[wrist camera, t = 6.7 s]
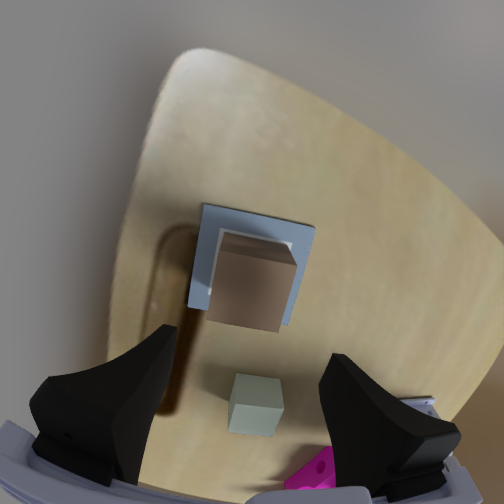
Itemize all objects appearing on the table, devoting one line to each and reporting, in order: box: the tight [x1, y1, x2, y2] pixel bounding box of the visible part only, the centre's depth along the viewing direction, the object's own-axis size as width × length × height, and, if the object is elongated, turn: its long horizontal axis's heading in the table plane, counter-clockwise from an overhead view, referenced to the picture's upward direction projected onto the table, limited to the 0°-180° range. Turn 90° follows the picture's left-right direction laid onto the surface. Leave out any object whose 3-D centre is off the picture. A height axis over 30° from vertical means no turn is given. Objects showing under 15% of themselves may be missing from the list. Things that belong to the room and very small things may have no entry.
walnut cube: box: [206, 232, 297, 333], centre depth 19 cm, size 4×4×4 cm
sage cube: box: [227, 373, 284, 437], centre depth 23 cm, size 4×4×4 cm
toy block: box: [284, 446, 336, 490], centre depth 27 cm, size 15×6×8 cm, turn 154°
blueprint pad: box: [188, 204, 316, 325], centre depth 22 cm, size 8×8×1 cm
